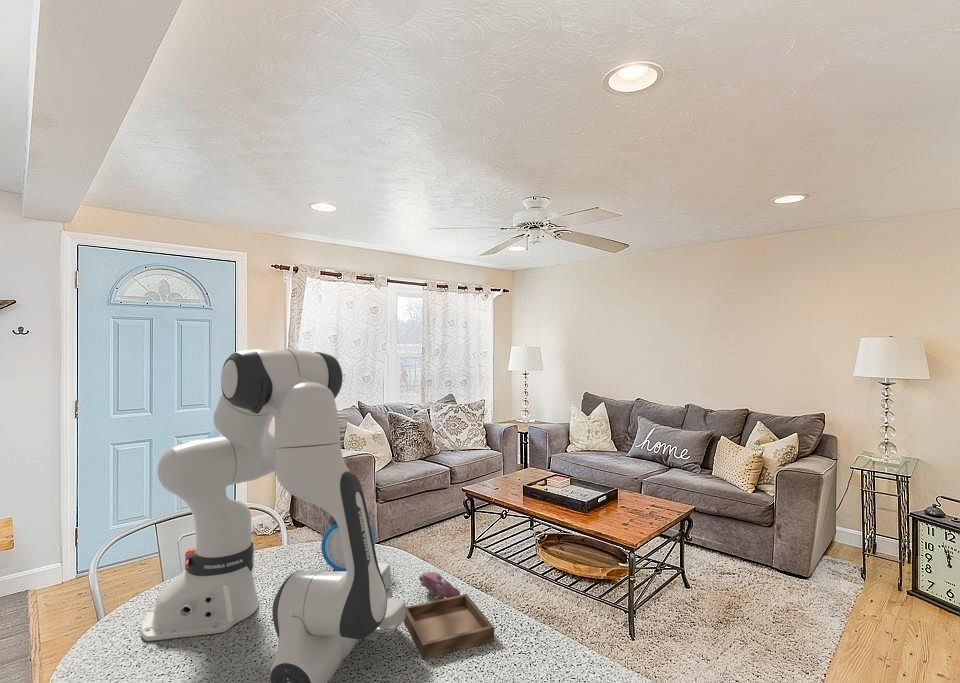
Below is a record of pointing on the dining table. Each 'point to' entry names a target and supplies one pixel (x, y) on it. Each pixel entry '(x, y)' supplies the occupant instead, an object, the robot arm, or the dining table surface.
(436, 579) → the video game controller
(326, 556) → the alarm clock
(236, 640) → the dining table surface
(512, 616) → the dining table surface
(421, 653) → the tray
